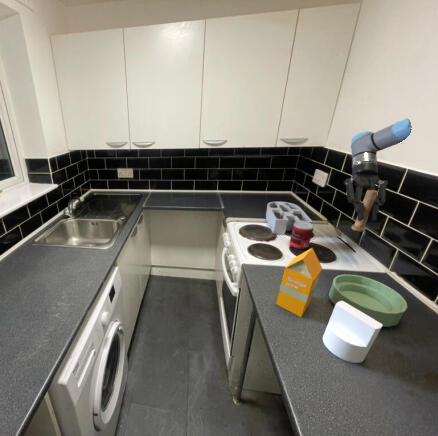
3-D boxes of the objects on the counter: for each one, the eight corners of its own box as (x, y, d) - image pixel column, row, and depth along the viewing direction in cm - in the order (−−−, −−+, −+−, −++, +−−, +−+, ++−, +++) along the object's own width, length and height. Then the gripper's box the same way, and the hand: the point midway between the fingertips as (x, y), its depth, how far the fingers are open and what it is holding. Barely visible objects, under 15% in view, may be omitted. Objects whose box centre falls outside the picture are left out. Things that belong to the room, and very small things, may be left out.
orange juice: (310, 302, 76) (327, 252, 68) (301, 317, 71) (318, 264, 63) (285, 291, 82) (298, 242, 74) (275, 303, 77) (287, 253, 68)
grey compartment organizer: (272, 234, 119) (275, 219, 116) (262, 213, 144) (265, 200, 140) (308, 237, 115) (313, 222, 112) (292, 215, 140) (295, 202, 136)
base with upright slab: (315, 339, 64) (327, 307, 59) (335, 327, 67) (348, 296, 63) (352, 368, 57) (369, 335, 52) (372, 354, 60) (391, 320, 55)
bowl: (382, 294, 79) (389, 280, 76) (411, 336, 64) (421, 320, 62) (322, 283, 85) (326, 270, 82) (337, 318, 70) (343, 304, 68)
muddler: (362, 227, 93) (376, 189, 87) (366, 232, 90) (381, 193, 83) (350, 226, 95) (363, 189, 88) (353, 230, 91) (367, 192, 85)
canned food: (308, 243, 110) (313, 223, 106) (308, 251, 104) (314, 230, 99) (289, 239, 114) (294, 219, 109) (288, 247, 108) (293, 226, 103)
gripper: (384, 173, 94) (388, 226, 87) (336, 171, 100) (336, 221, 93) (396, 162, 87) (402, 219, 80) (344, 161, 93) (345, 213, 86)
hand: (367, 220), depth 87 cm, fingers closed on muddler, 3 cm apart
